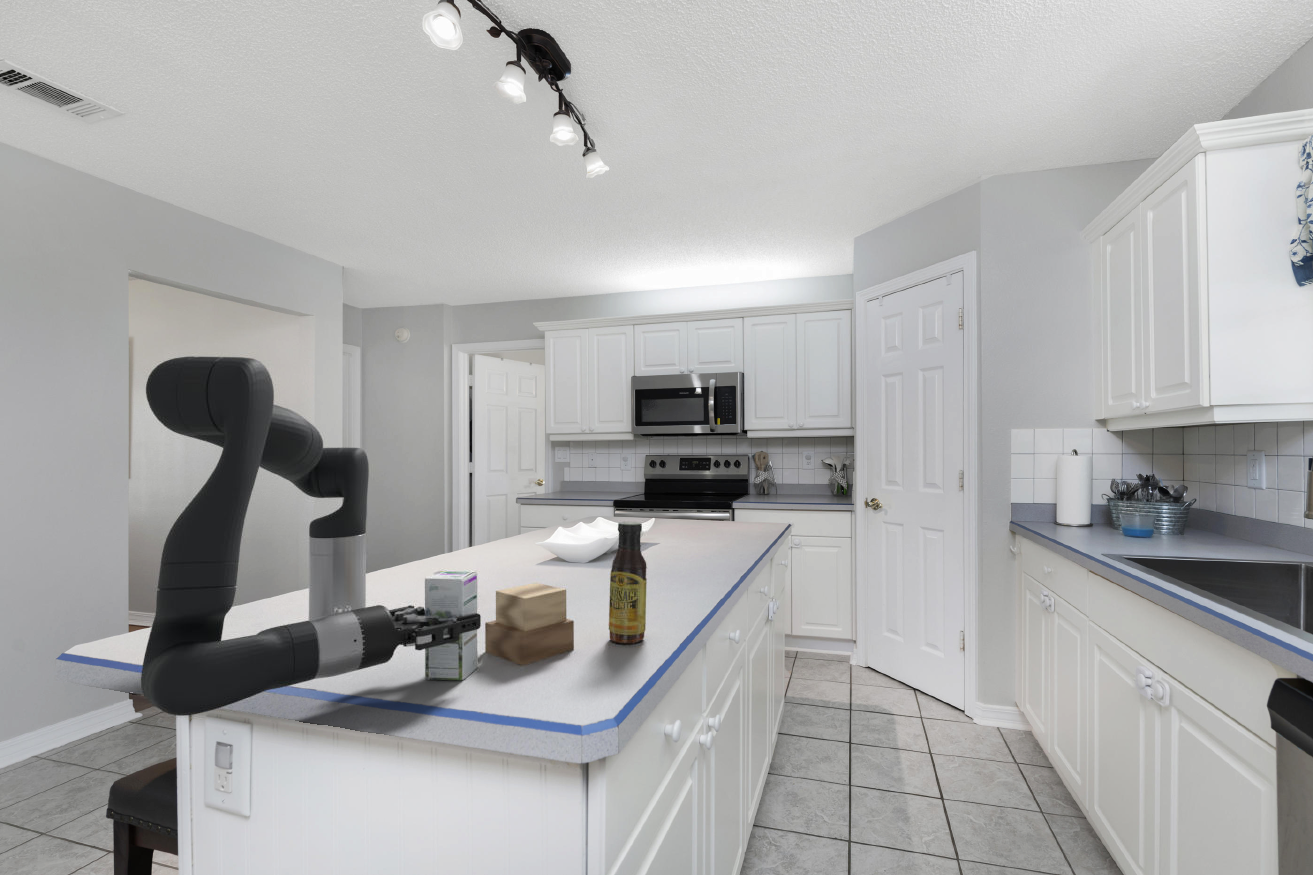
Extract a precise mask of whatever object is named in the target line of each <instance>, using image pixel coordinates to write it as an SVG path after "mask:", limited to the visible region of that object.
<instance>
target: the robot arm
mask: <svg viewBox="0 0 1313 875" xmlns="http://www.w3.org/2000/svg"><path fill="white" fill-rule="evenodd" d="M274 391H275V390H274V384H273V380H272V377H271V374H270V372H269V370H268V369H267V367H266V366H265V365H264V364H263V362H261V361H259V360H257V359H255V358H251V357H250V358H249V357H240V356H182V357H174V358H169V359H167V360H165V361H163V362H161V363H159V364H158V365H157V366H155V368H154V369H152V371H151V372H150V374H149V375H148V378H147V380H146V386H145V395H146V400H147V402H148V406H149V408H150V410H151V412H152V413H153V415H154V416H155V418H156V419H157V421H158V422H160V423H161V424H162V425H163V426H164V427H165V428H167V429H168V430H170V431H172V432H173V433H176V434H178V435H181V436H185V437H188V438H192V439H196V440H199V441H203V442H206V443H209V444H211V445H212V444H213V445H214V446H218V447H220V448H222V452H221V455H220V458H219V460H218V462H217V464H216V465H215V468H214V469H213V471H212V472H211V475H210V476H209V477H208V478H207V480H206V482H205V483H204V484H203V485H202V487H201V489H200V490H199V491H198V493H196V495H195V496H194V497H193V498H192V500H191V501H190V502H189V503H188V505H187V506H186V507H185V508H184V510H182V512H181V513H180V514H179V516H178V517H177V518H176V520H175V521H174V522H173V525H172V527H171V528H170V530H169V532H168V534H167V536H166V539H165V542H164V544H163V549H162V553H161V558H160V559H161V560H160V568H159V573H158V574H159V575H158V581H157V588H156V589H157V590H156V601H155V604H156V606H155V615H154V619H153V622H152V625H151V629H150V632H149V635H148V640H147V643H146V649H145V653H144V658H143V662H142V668H141V675H140V676H141V677H140V686H141V692H142V694H143V696H144V698H145V700H146V701H147V702H148V703H149V704H151V705H152V706H154V707H156V708H157V709H158V710H160V711H161V712H164V713H166V714H168V715H172V716H177V717H178V716H181V717H182V716H184V717H185V716H193V715H198V714H201V713H202V714H203V713H206V712H211V711H215V710H217V709H220V708H224V707H226V706H229V705H232V704H235V703H238V702H240V701H243V700H246V699H248V698H251V697H253V696H256V695H259V694H261V693H264V692H267V691H270V690H275V689H281V688H284V687H285V688H286V687H289V686H293V685H296V684H301V683H305V682H309V681H312V680H318V679H325V678H332V677H336V676H340V675H345V674H348V673H352V672H355V671H356V672H357V671H360V670H364V669H369V668H371V667H375V666H379V665H383V664H386V663H389V662H390V661H391V659H392V658H393V656H394V654H395V651H396V649H397V648H398V646H403V647H406V648H407V647H414V650H415V651H422V650H425V649H427V648H431V647H435V646H439V645H443V644H448V643H452V642H457V641H459V640H460V634H461V633H465V632H469V631H473V630H477V631H478V630H479V629H480V628H481V626H482V625H481V622H482V621H481V619H482V616H481V614H480V613H479V612H477V613H473V614H468V615H464V616H459V617H455V618H454V617H451V618H440V617H439V616H438V615H430V616H425V606H417V607H415V606H414V605H406V606H403V607H398V608H397V607H396V608H393V609H388V608H387V607H386V606H384V605H381V604H379V605H372V606H367V605H366V603H367V602H366V601H367V599H366V596H367V593H366V592H367V590H366V589H367V582H366V581H367V580H366V579H367V577H366V576H367V568H366V567H367V551H366V550H367V546H366V545H367V544H366V543H367V537H366V536H367V515H368V512H367V511H368V489H369V474H370V473H369V470H370V469H369V468H370V466H369V459H368V455H367V453H366V452H365V450H364V449H363V448H360V447H324V440H323V438H322V434H320V431H319V430H318V429H317V428H316V427H315V426H314V425H313V423H311V422H310V421H308V420H307V418H304V417H303V416H302V415H301V414H299V413H298V412H296V411H293V410H291V409H289V408H287V407H284V406H281V405H277V404H274V402H275V392H274ZM260 468H261V469H264V470H265V471H267V472H269V473H271V474H274V475H277V476H279V477H281V478H283V479H285V480H287V481H289V482H290V483H291V484H293V485H294V486H295V487H296V488H297V489H299V491H301V492H302V493H304V494H305V495H306V496H309V497H311V498H317V499H338V498H341V499H342V498H343V500H342V504H341V506H340V507H339V508H337V510H335V511H333V512H331V513H329V514H327V515H324V516H321V517H317V518H315V519H313V520H311V522H310V523H309V525H308V526H309V528H308V529H309V530H308V539H309V540H308V541H309V543H308V546H309V547H308V548H309V552H308V553H309V554H308V555H309V556H308V559H309V562H308V563H309V564H308V565H309V567H308V571H309V572H308V620H304V621H298V622H294V623H288V624H283V625H278V626H273V627H270V628H267V629H264V630H261V631H259V632H258V633H256V634H251V635H246V636H239V637H235V638H234V637H233V638H229V639H223V640H222V638H223V630H224V625H225V624H224V623H225V618H226V615H227V614H228V613H229V612H230V610H231V609H232V607H233V605H234V601H235V597H236V592H237V587H236V586H237V582H238V581H237V580H238V573H239V562H240V552H241V543H242V538H243V536H242V535H243V530H244V525H245V520H246V516H247V511H248V508H249V504H250V501H251V497H252V493H253V490H254V486H255V482H256V480H257V476H258V472H259V469H260ZM340 606H342V609H345V606H348V607H351V610H350V611H345V612H339V613H334V614H332V612H333V608H335V607H336V608H337V610H338V607H340ZM429 622H431V623H432V626H429ZM445 629H448V632H446V633H443V631H444V630H445Z"/></svg>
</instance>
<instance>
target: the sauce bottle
mask: <svg viewBox="0 0 1313 875" xmlns="http://www.w3.org/2000/svg"><path fill="white" fill-rule="evenodd" d="M617 526H618V527H617V531H618V545H617V546H618V548H617V551H616V555H615V556H614V558H613V560H612V564H611V569H610V577H609V580H610V581H609V603H608V604H609V609H608V610H609V612H608V630H609V640H611V641H612V642H614V643H617V644H630V645H631V644H636V643H640V642H641V641H643V640H644V638H645V632H646V624H647V623H646V621H647V619H646V618H647V617H646V616H647V584H648V583H647V569H648V567H647V561H646V559H645V557H644V556H643V554H642V551H641V547H642V545H641V533H642V531H643V524H642V523H641V522H637V521H619V522H618V525H617Z"/></svg>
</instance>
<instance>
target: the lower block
mask: <svg viewBox="0 0 1313 875" xmlns="http://www.w3.org/2000/svg"><path fill="white" fill-rule="evenodd" d="M574 622H575V620H574V619H569V618H566V621H563V622H559V623H555V624H552V625H548V626H544V627H540V628H537V629H533V630H529V631H522V630H519V629H516V628H513V627H510V626H506V625H503V624H500V623H497V622H496V619H495V620H491V621H487V622H485V623H484V625H485V628H484V629H485V632H484V633H485V634H484V636H485V639H484V643H485V644H484V645H485V648H484V650H485V653H487V654H490V655H493V656H495V657H498V658H500V659H503V660H505V661H508V662H511V663H513V664H516V665H519V666H522V667H523V666H526V665H529V664H533V663H537V662H538V661H543V660H546V659H548V658H552V657H555V656H558V655H561V654H564V653H567V652H571V651H574V650H575V649H574V648H575V644H574V643H575V640H574V639H575V638H574V637H575V636H574V635H575V633H574V632H575V629H574V628H575V627H574V626H575V624H574Z"/></svg>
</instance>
